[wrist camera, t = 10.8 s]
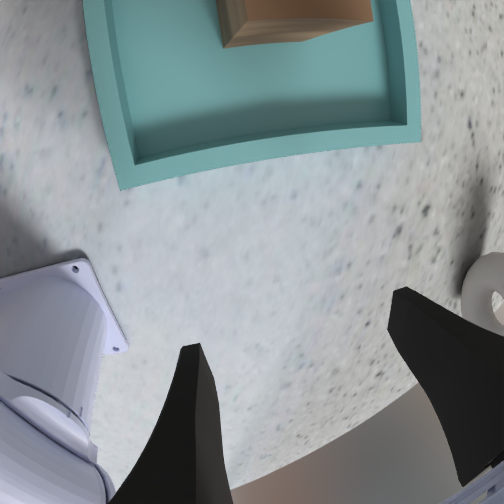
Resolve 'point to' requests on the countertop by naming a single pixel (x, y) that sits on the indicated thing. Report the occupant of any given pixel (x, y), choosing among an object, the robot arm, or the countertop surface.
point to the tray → (244, 88)
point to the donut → (483, 291)
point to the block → (286, 19)
